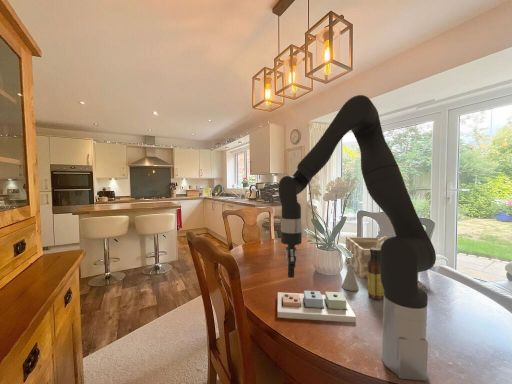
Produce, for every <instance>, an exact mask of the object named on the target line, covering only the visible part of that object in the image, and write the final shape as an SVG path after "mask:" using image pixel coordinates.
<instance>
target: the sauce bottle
mask: <svg viewBox="0 0 512 384" xmlns="http://www.w3.org/2000/svg"><path fill="white" fill-rule="evenodd" d="M380 250H381V249H379V248H370V252H371V257H370V260H369V262H368V270H367V273H368V278H367V294H368V296H369V297H370V298H372V299H375V300H379V301H380V300H384V289H383V286H382V283H381V276H380Z"/></svg>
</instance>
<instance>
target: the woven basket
mask: <svg viewBox="0 0 512 384" xmlns="http://www.w3.org/2000/svg"><path fill="white" fill-rule="evenodd" d="M381 238H382V237H364V236H345V249H346V248H347V249H348V250H349V251H351V253H352V254H353V257H351V258H347V257H346V256H345V261H346V262H347V264H348V265H354V266H355V267H354V272H356V273H357V275H358V276H359V277H360V278H361V279H362V278H365V279H368V273H367V270H368V262H369V260H370V257H371V252H370V248H376V246H377V242H378V239H381ZM383 241H384V240H383ZM381 242H382V241H381ZM381 242H380V243H381ZM419 275H420V272H418V273H417V281H419Z"/></svg>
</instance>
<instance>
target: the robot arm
mask: <svg viewBox="0 0 512 384" xmlns="http://www.w3.org/2000/svg"><path fill="white" fill-rule="evenodd" d="M381 124H382V123H381V119H380V116H379V111H378V110H377V108H376V106H375V104H374V103H373V101H372V100H371V99H370V98H369V97H368V96H367V95H363V94H358V95H357V94H356V95H354V96H352V97H350V98H349V99H348V100H347V101H346V102H345V103H344V104H343V105H342V106H341V108H340V109H339V110H338V113H336V115H335V117H334V118H333V120H332V121H331V122H330V124H329V125H328V127H327V129H326V130H325V131H324V133H323V134H322V135H321V137H320V139H318V141H317V142H316V144H315V145H314V146H313V147H312V148H311V149H310V151H309V152H307V154H306V155H305V156H304V157H303V158H302V159H301V161H299V163H298V164H297V167H296V171H295V172H294V174H292V175H285V176H283V177H282V178H280V180H279V182H278V188H277V189H278V195H279V201H280V205H281V221H280V222H281V223H280V242H281V244H283V245H287V246H285V256H286V257H285V258H286V262H287V263H286V265H287V277H288V278H290V279H291V278H293V279H294V278H295V268H296V262H297V255H298V250H297V247H296V246H297V245H298V246H299V245H301V244H302V243H303V242H302V236H303V235H302V234H303V233H302V232H303V231H302V227H303V226H302V225H303V224H302V206H301V203H299V202H298V195H299V194H300V193H302V192H303V191H304V190H305V189H306V187H308V185H309V184H310V182H311V181H312V180H313V178H314V177H315V176H316V175H317V174H318V173H319V172H320V171H321V170H322V169H323V168H324V167H325V166H326V165H327V163H328V162H329V160H330V159H331V157H332V156H333V153H335V149H336V148H337V146H338V144H339V143H340V142H341V140H342V139H343V138H344V136H346V135H347V134H348V133H349V132H350V131H351V132H352V134H353V135H354V138H355V140H356V143H357V145H358V148H359V150H360V151H359V152H360V169H361V175H362V178H363V181H364V184H365V188H366V190H367V193H368V194H369V196H370V198H371V199H372V200H373V201H374V202H375V203H376V205H378V207H379V208H380V209H381V210H382V212H383V213H384V214H385V215H386V217H388V219H389V222H390V224H391V226H392V228H393V230H394V233H395V236H391V237H388V239H386V240H385V241H384V242H383V244H382V246H381V250H380V276H381V283H382V286H383V289H384V299H383V302H382V303H383V305H382V306H383V308H382V309H383V311H382V339H381V341H382V343H381V344H382V346H381V347H382V348H381V349H382V351H381V359H382V362H383V364H384V366H386V367H387V369H389V370H390V372H392V373H394V374H395V375H396V376H397V377H398V378H399V379H403V380H412V381H413V380H415V381H421V382H423V381H425V382H426V381H427V380H428V379H427V378H428V377H427V376H428V375H427V374H428V354H429V353H428V351H429V349H428V347H429V342H428V341H427V326H428V324H427V323H428V322H427V321H428V301H429V299H428V293H427V292H426V290H425V289H424V288H423V287H421V286H418V285H419V284H418V280H417V273H418V272H419V273H421V272H422V273H423V272H426V271H428V270H430V269H432V268H433V267H434V265H435V264H436V261H437V253H436V249H435V247H434V245H433V243H432V241H431V239H430V237H429V235H428V232H427V231H426V229H425V227H424V225H423V224H422V222H421V220H420V218H419V215H418V214H417V212H416V211H417V210H416V209H415V207H414V204H413V201H412V199H411V197H410V194H409V191H408V188H407V186H406V183H405V180H404V177H403V175H402V172H401V169H400V167H399V165H398V162H397V161H396V158H395V156H394V154H393V152H392V150H391V149H390V147H389V145H388V143H387V141H386V139H385V136H384V133H383V128H382V125H381Z"/></svg>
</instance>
